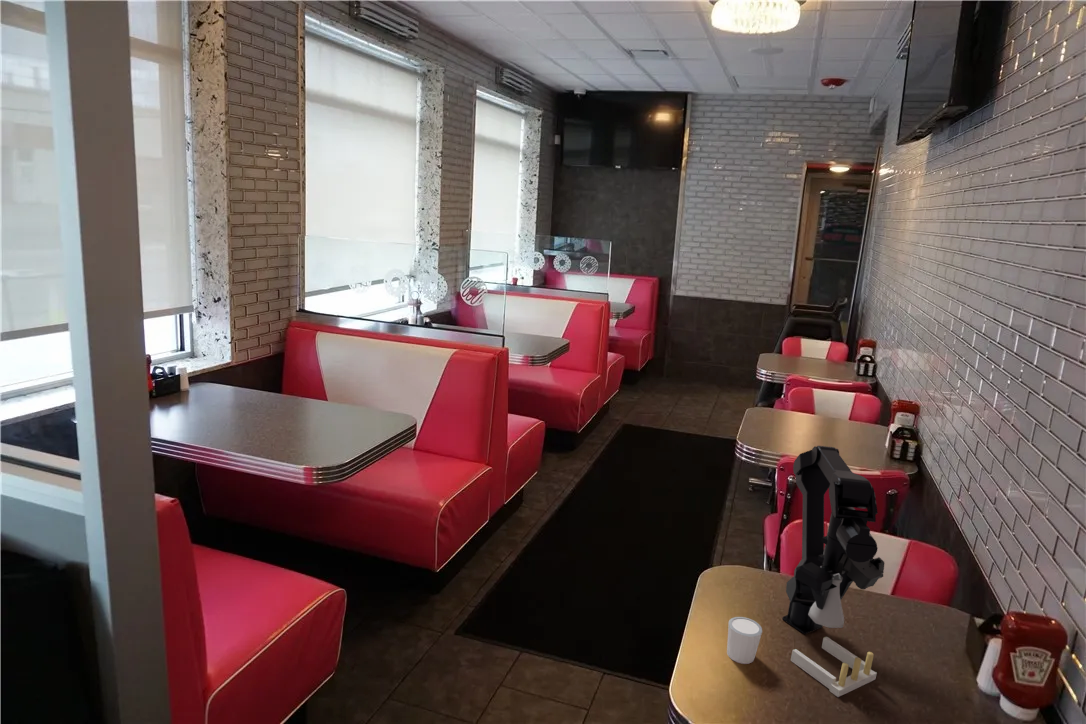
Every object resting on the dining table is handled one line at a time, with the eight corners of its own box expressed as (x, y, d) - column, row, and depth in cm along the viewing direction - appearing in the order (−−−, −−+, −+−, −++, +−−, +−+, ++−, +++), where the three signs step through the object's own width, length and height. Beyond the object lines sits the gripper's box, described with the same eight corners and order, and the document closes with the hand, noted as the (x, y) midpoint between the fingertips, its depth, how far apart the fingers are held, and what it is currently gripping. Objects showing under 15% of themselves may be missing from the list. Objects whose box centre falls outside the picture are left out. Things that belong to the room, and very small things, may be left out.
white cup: (759, 651, 154) (764, 622, 153) (754, 670, 148) (759, 640, 146) (727, 641, 157) (732, 612, 155) (720, 658, 151) (725, 629, 149)
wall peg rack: (788, 661, 152) (793, 636, 150) (826, 645, 158) (830, 621, 157) (837, 697, 142) (843, 670, 141) (875, 679, 148) (881, 653, 147)
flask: (848, 632, 147) (857, 588, 144) (811, 626, 148) (819, 582, 146) (840, 612, 154) (849, 569, 151) (804, 606, 155) (813, 564, 152)
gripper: (849, 566, 135) (833, 639, 139) (906, 545, 145) (890, 614, 149) (799, 539, 144) (786, 608, 148) (856, 521, 154) (843, 586, 158)
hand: (828, 605), depth 150 cm, fingers closed on flask, 5 cm apart
